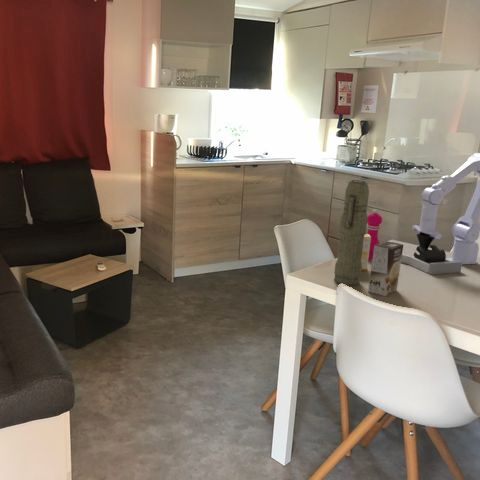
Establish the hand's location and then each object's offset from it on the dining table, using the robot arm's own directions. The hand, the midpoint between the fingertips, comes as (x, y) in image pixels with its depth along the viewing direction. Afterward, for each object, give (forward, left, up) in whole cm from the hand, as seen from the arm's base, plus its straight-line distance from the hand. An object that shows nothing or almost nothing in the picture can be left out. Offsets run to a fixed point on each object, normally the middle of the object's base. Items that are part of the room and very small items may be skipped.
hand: (423, 252), depth 215 cm
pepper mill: (+18, -10, -5) cm, 21 cm away
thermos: (+44, +14, -5) cm, 46 cm away
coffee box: (+37, +25, -5) cm, 45 cm away
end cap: (0, +3, -4) cm, 5 cm away
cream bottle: (+32, +1, -5) cm, 32 cm away
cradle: (0, +5, -4) cm, 7 cm away
